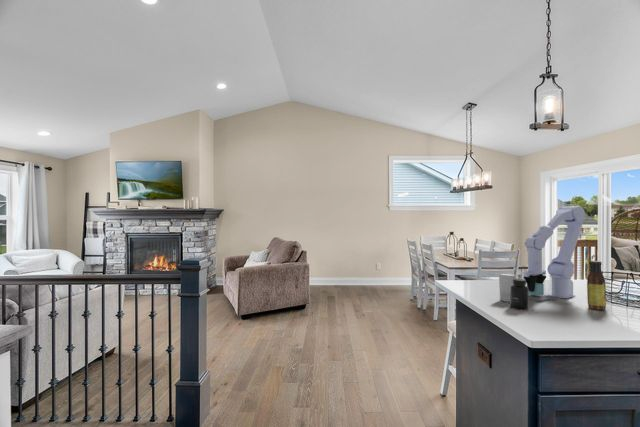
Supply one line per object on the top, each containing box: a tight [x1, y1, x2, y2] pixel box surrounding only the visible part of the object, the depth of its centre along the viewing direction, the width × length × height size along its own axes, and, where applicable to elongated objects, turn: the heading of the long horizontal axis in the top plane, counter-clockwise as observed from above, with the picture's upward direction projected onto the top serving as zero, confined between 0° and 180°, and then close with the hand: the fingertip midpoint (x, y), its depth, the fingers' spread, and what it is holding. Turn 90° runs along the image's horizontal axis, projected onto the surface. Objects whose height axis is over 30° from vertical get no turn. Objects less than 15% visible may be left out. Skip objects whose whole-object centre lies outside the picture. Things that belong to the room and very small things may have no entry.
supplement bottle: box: [509, 278, 529, 311], centre depth 156 cm, size 7×7×12 cm
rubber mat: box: [528, 294, 556, 303], centre depth 173 cm, size 12×12×1 cm
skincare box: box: [498, 273, 517, 302], centre depth 168 cm, size 6×4×12 cm
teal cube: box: [526, 283, 545, 296], centre depth 173 cm, size 5×5×5 cm
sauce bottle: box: [586, 260, 607, 311], centre depth 154 cm, size 6×6×20 cm
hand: (534, 290), depth 173 cm, fingers closed on teal cube, 5 cm apart
